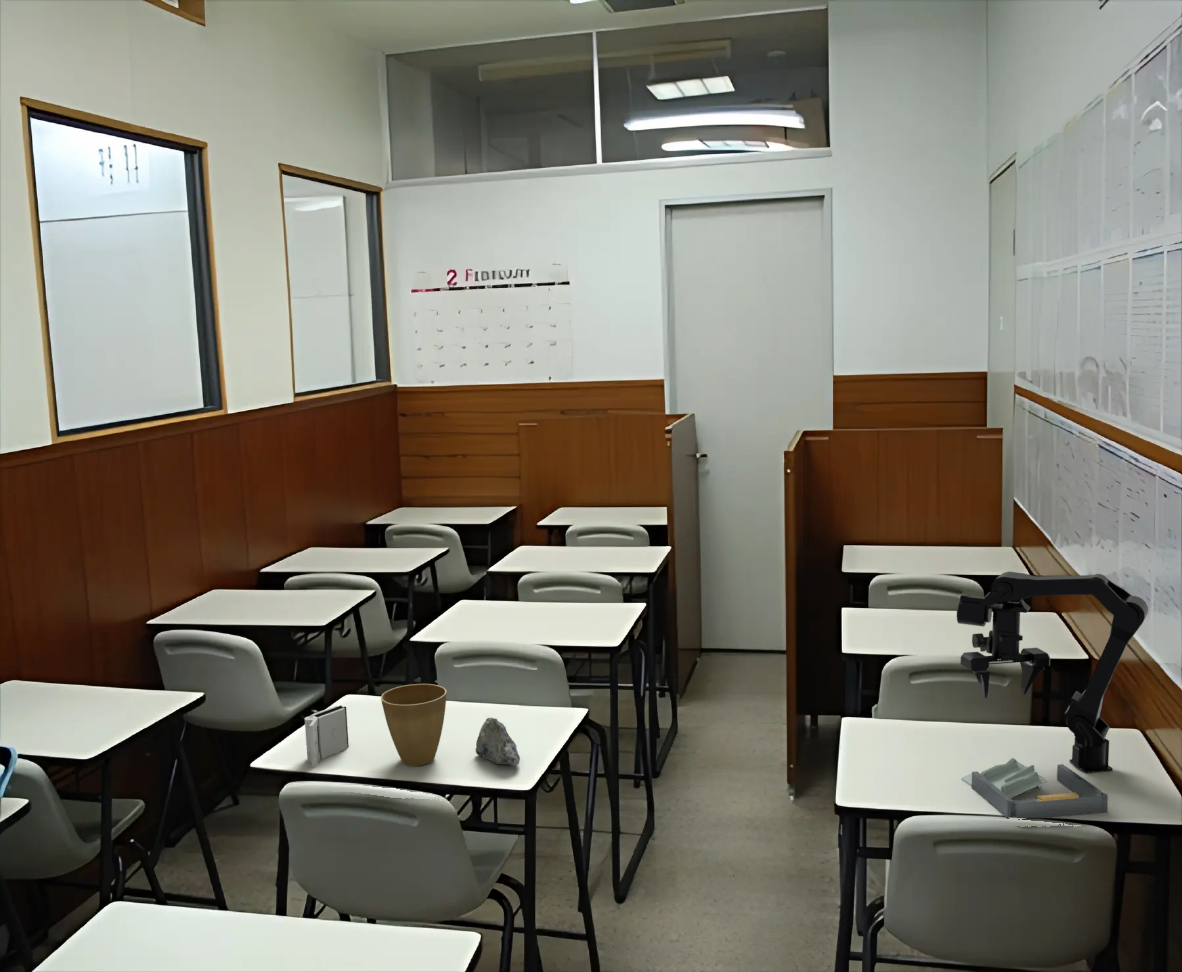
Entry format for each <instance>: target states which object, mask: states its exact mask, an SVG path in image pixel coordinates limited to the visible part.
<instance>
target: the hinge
mask: <svg viewBox="0 0 1182 972" xmlns="http://www.w3.org/2000/svg"><path fill="white" fill-rule="evenodd" d="M348 728H349V727H348V713H347V706H343V705H339V706H338V705H333V706H332V707H329V708H326V709H324V710H323V709H322V710H320V711H317V712H314V713H313V714H311V715H309V716H306V717H304V731H305V741H306V743H305V745H306V756H307V757H306V758H307V761H308V762H311V768H316V767H317V766H318V764H319V762H321V761H320V760H324V759H325V758H328V757H330V756H333V755H335V754H338V753H339V752H342V751H345V750H347V749H348V748H349V746H350V745H349V732H348Z"/></svg>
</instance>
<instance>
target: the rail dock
mask: <svg viewBox="0 0 1182 972" xmlns="http://www.w3.org/2000/svg"><path fill="white" fill-rule="evenodd" d="M1056 770H1057V771H1056V781H1057V782H1059V783H1060V784H1061V785H1063V786H1064V787H1065V788H1066V789H1068V790H1070V791H1071V792H1067V793H1066V792H1065V793H1055V794H1054V793H1053V794H1043V795H1037V797H1036V798H1034V799H1033V798H1032V799H1031V798H1030V799H1023V800H1022V799H1021V800H1020V799H1019V800H1013V799H1012V798H1009V797H1008V796H1007V795H1006V794H1004V793H1003V792H1002V791H1001V790H1000V789H998V788H997V787H996V786H995V785H993V784H992V783H991V782H990V781H988V780H987V779H986V778H985V777H984V776H982V775H981V772H979V771H971V773H972V786H971V789H972V790H974V791H975V792H976V793H977V794H978V795H980V797H982V798H983V799H984V800H985V801H986V802H988V803H989V804H990V805H991V806H993V808H994V809H996V810H997V812H999V813H1000V814H1002V815H1003V816H1004V817H1005V818H1006V817H1017V818H1037V819H1046V818H1047V819H1048V818H1057V817H1058V818H1059V817H1066V816H1067V817H1069V816H1079V815H1081V816H1082V815H1090V814H1100V813H1101V814H1102V813H1107V812H1108V802H1109V800H1108V798H1109V795H1108V794H1107V793H1105V792H1104V791H1102V790H1101V789H1100V788H1098V787H1097V786H1096V785H1094V784H1092V783H1091V782H1089V781H1088V780H1087V779H1085V778H1083V777H1082V776H1081V775H1079V774H1078V773H1076V772H1075V771H1074V770H1072V769H1070V768H1069V767H1068V766H1066V765H1065V764H1064V763H1061V764H1060V763H1059V764H1057V768H1056Z"/></svg>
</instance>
